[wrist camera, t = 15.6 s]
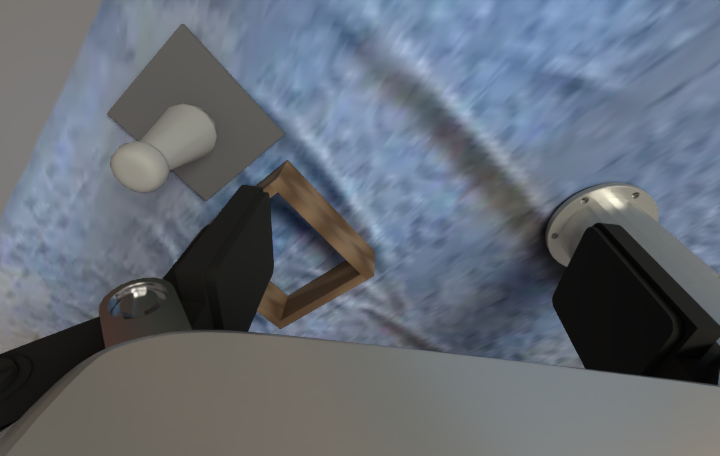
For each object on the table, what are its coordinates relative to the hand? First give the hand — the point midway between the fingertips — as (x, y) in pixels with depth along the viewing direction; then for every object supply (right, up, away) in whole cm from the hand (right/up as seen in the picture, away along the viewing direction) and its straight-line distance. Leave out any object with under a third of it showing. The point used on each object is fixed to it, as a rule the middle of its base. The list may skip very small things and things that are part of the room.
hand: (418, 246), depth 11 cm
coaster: (-20, +12, +31) cm, 39 cm away
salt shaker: (-20, +12, +30) cm, 38 cm away
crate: (-12, -1, +39) cm, 41 cm away
